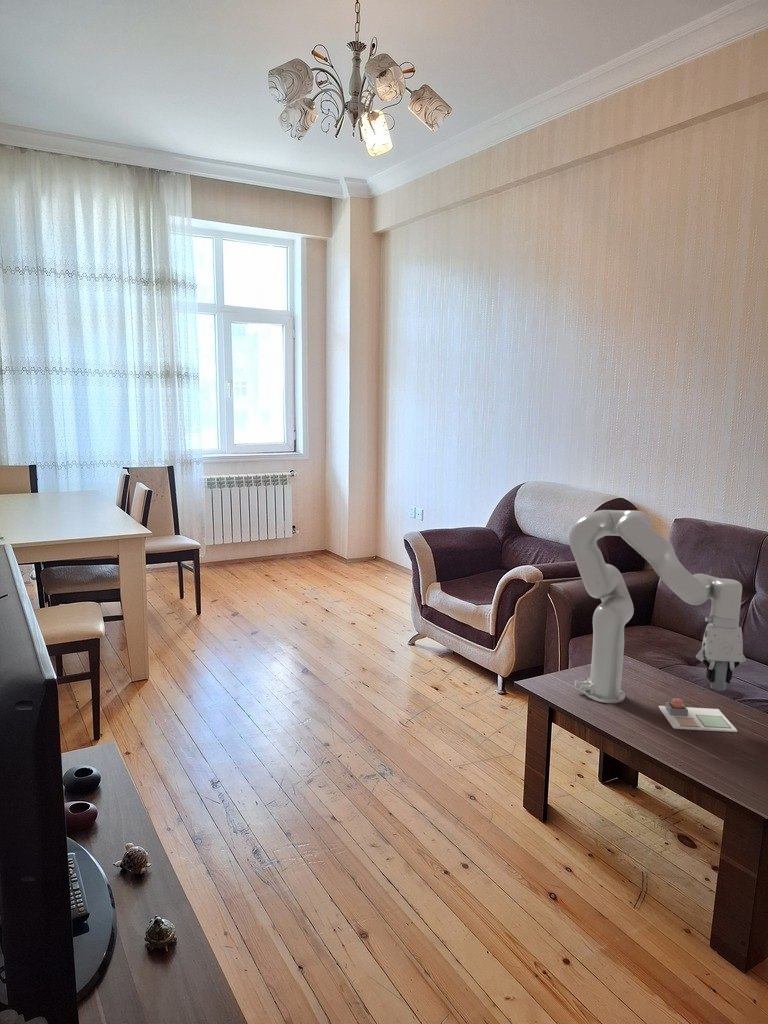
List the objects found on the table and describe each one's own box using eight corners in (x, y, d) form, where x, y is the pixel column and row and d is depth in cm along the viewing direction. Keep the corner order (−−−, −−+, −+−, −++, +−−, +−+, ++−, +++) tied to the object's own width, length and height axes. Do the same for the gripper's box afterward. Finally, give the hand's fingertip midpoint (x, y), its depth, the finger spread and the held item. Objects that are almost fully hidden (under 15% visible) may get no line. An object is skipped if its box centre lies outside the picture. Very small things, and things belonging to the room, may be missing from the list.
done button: (673, 709, 207) (673, 702, 207) (669, 705, 210) (670, 697, 210) (683, 710, 207) (684, 702, 206) (680, 705, 210) (681, 698, 210)
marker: (713, 690, 199) (716, 656, 198) (707, 684, 203) (710, 650, 202) (728, 691, 199) (731, 656, 197) (722, 685, 203) (725, 651, 201)
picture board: (673, 728, 199) (674, 720, 199) (658, 707, 213) (659, 699, 213) (737, 732, 198) (738, 724, 198) (718, 710, 212) (719, 703, 211)
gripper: (699, 624, 195) (693, 685, 198) (760, 626, 194) (753, 687, 197) (689, 616, 202) (684, 675, 205) (748, 618, 201) (742, 677, 204)
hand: (718, 680), depth 201 cm, fingers closed on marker, 3 cm apart
